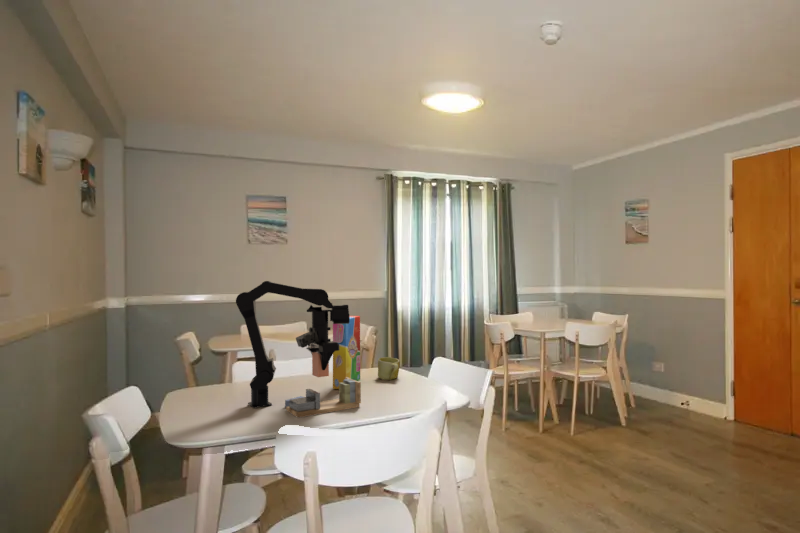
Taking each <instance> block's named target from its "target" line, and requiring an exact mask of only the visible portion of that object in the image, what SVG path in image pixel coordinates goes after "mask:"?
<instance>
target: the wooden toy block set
mask: <svg viewBox="0 0 800 533" xmlns="http://www.w3.org/2000/svg"><path fill="white" fill-rule="evenodd" d="M361 388H362V385H361V382H360V381H359V380H358V381H356V380H353V379H350V378H347V377H346V378H345V380H343V382H342V383H339V389H338V398H334V399H328V400H320V409H313V410H307V411H301V412H297V411H295V410H293V409H292V408H290V407H289V406H288V407H285V408H286V409H285V410H287V411H286V412H288V413H290V415H293V416H295V417H296V418H304V417H308V416H314V415H320V414H326V413H331V412H338V411H343V410H348V409H354V408H360V404H361V403H362V396H361V394H362V393H361V392H362V389H361Z"/></svg>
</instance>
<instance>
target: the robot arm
mask: <svg viewBox="0 0 800 533" xmlns="http://www.w3.org/2000/svg"><path fill="white" fill-rule="evenodd" d="M267 293H268V294H269V293H270V294H276V295H280V296H284V297H291V298H295V299H301V300H302V301H306V302H308V303H311V304H310V305H309V307H308V308H306V312H307V313H311V326H310V327H309V328H308V331H307V332H305V333H303V334H301V335H298V336H297V337H295V340H296V343H297V346H298V347H299V348H301V349H303V348H305V347H306V348H305V349H306V350H307V351H309V352H310V353H311V355H312V352H317V353H318V354H319V355H320V359H321V367H322V370H325V369H326V367H327V365H328V362H329V363H330V360H331V358H332V357H333V353H334V352H335V351H339V344H338V343H337V342H333V340H332V341H331V338H329V331H331V327H330V326H329V322H332V325H333V324H349V317H350V316H351V315H350V309H349V304H340V305H339V304H337V305H333V302H331V301H330V300H329V294H328V292H327V291H326V290H325V289H323V288H303V287H302V288H301V287H297V286H292V285H288V284H283V283H282V284H281V283H277V282H272V281H270V280H265V281H263V282H261V284H259V285H258V286H256V287H254V288H253V289H251V290H249V291H243V292H240V293H239V294H238V295H237V296H236V298H235V304H236V306H237V308H238V310H239V313H240V315H241V316H242V317H243V319H244V322H245V325H246V329H247V333H248V337H249V339H250V340H249V341H250V344H251V347H252V351H253V355H254V359H255V360H254V361H255V362H254V363H255V375H254V377H253V378H252V379H251V381H250V383H249V386H250V402H247V404H248V406H250V407H251V408H253V409H255V408H256V409H257V408H261V407H267V406H272V402H270V401H269V385H268V384H270V383H271V382H272V381H273V379H274V376H275V373H276V370H277V367H276V366H275V364H274V358H273V357H272V358H269V357H268V354H267V351H266V348H265V344H264V340H263V337H262V333H261V330H260V325H259V322H258V319H257V305H256V301H257V300H258V299H260V298H261V297H263V296H264V295H266V294H267ZM312 304H313V305H316V306H313V305H312ZM322 306H323V307H325V308H326V309H323V307H322Z"/></svg>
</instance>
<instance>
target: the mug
mask: <svg viewBox="0 0 800 533" xmlns="http://www.w3.org/2000/svg"><path fill="white" fill-rule="evenodd" d="M400 365H401V364H400V359H398V358H397V357H395V358H394V357H391V356H384V357H379V358H378V360H377V370H378V371H377V378H378V379H381V380H383V381H384V380H385V381H388V380H389V381H390V380H395V379H397V378H398V377H399V371H400Z"/></svg>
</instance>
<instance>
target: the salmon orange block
mask: <svg viewBox="0 0 800 533" xmlns="http://www.w3.org/2000/svg"><path fill="white" fill-rule="evenodd" d="M311 358H312V360H311V361H312V362H311V364H312V367H311V368H312V370H311V371H312V372H311V373H312V374H311V375H312V376H314V377H316V378H324V377H329V376H330V374H329V372H330V367H329V366H330V365H329V364H330V361H329V362H328V365H327V367H326V369H325V370H322V367H321V359H320V355H319V354H318V353H317V352H312V354H311Z"/></svg>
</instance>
